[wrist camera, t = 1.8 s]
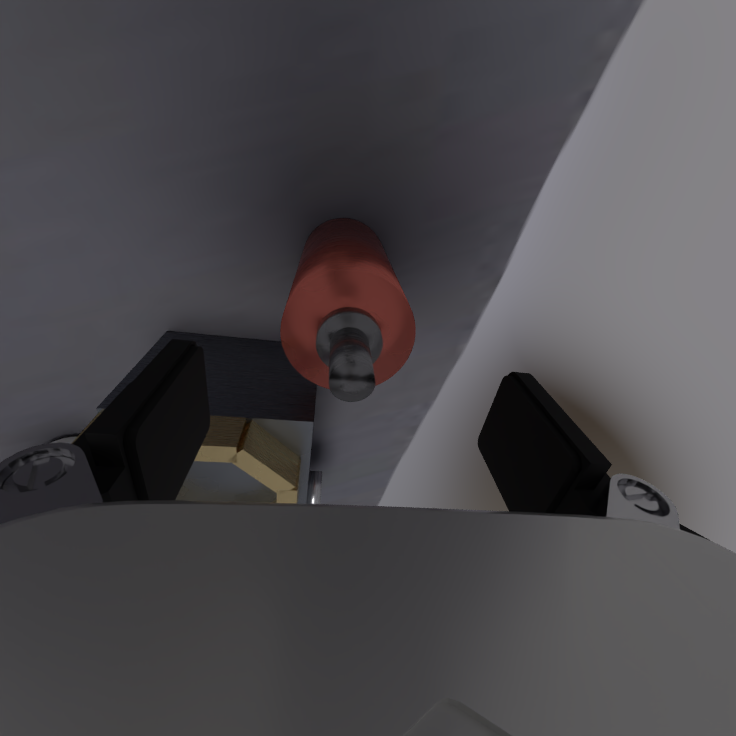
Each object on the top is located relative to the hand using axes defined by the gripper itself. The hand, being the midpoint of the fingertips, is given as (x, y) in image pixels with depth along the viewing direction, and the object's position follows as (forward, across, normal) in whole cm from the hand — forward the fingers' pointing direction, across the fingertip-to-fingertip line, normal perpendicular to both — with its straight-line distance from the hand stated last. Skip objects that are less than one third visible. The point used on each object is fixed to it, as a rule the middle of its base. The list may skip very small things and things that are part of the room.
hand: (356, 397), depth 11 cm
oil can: (+13, 0, -1) cm, 13 cm away
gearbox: (+13, +6, +12) cm, 19 cm away
